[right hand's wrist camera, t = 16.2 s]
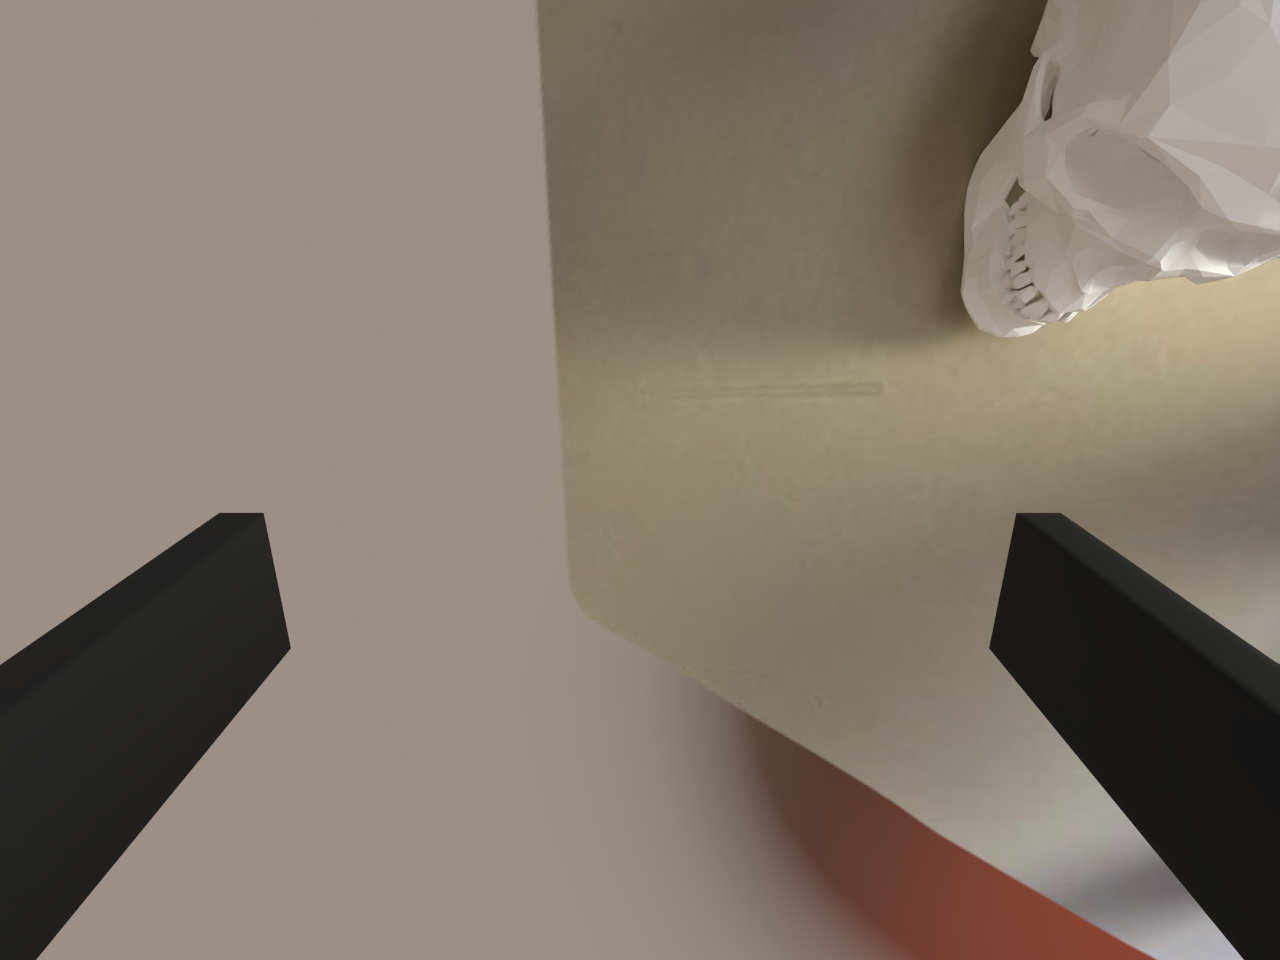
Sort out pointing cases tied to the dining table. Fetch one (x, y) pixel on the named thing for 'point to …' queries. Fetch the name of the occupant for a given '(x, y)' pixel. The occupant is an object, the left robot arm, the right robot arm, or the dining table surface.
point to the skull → (1128, 159)
